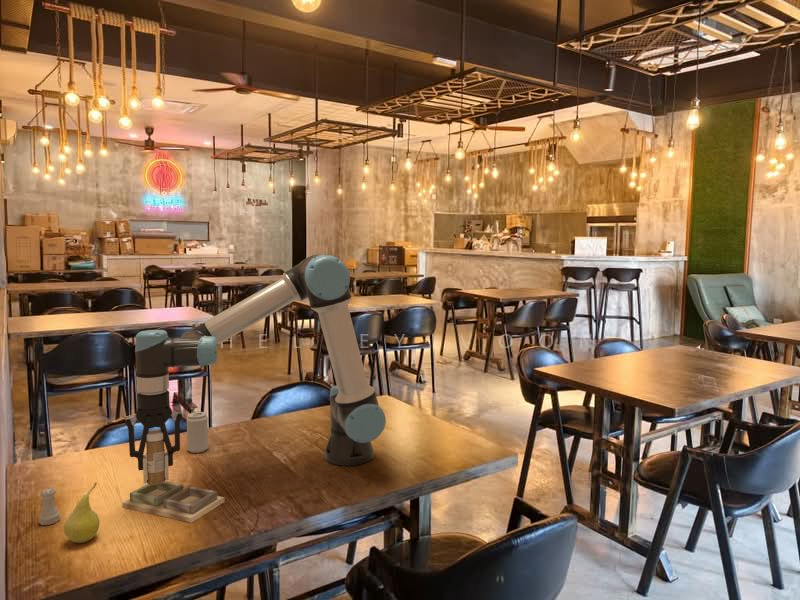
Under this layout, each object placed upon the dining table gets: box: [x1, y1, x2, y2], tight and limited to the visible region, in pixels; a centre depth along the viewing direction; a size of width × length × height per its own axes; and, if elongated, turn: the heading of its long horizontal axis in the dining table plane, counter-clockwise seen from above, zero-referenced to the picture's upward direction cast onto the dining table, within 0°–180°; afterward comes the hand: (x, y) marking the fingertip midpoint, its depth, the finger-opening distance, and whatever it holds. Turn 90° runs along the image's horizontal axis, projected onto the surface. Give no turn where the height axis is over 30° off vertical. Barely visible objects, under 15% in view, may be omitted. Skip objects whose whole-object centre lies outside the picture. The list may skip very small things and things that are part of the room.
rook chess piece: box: [38, 486, 61, 526], centre depth 134 cm, size 4×4×8 cm
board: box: [121, 480, 226, 524], centre depth 144 cm, size 22×12×3 cm, turn 69°
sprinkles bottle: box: [145, 428, 167, 485], centre depth 145 cm, size 5×5×13 cm
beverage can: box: [186, 411, 209, 454], centre depth 181 cm, size 6×6×12 cm
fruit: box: [63, 481, 100, 544], centre depth 126 cm, size 7×8×12 cm
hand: (156, 479), depth 145 cm, fingers closed on sprinkles bottle, 4 cm apart
